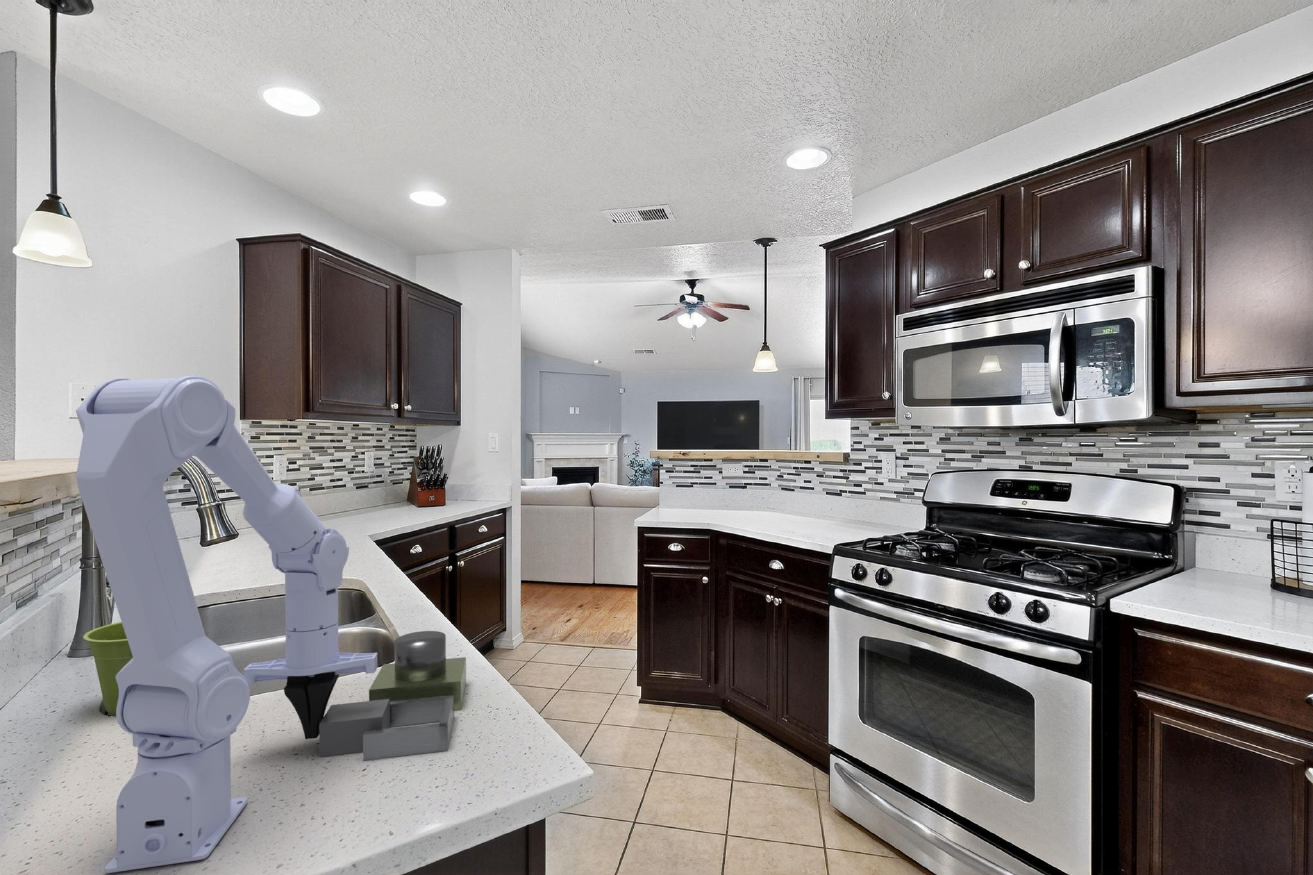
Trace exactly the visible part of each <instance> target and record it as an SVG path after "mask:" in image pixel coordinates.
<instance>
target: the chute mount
mask: <svg viewBox="0 0 1313 875" xmlns="http://www.w3.org/2000/svg"><path fill="white" fill-rule="evenodd" d="M446 637H447V636H446V634H445V633H444V632H442V631H439V630H438V631H437V630H424V631H422V630H421V631H414V632H410V633H405V634H403V635H401V636H398V637H396V639H395V640H394V662H393V663H384V664H382V667H381V668H380V670H379V672H378V673H377V675H376V677H375V679H374V680H373V682H372V684H371V685H370V687H369V689H368V701H374V700H384V699H390V729H382V730H373V731H365V732H364V734H363V752H362V760H363V762H364V761H370V760H378V759H380V760H381V759H388V758H395V757H403V756H411V755H421V754H422V755H423V754H428V753H437V752H446V751H448V749H449V745H450V739H451V734H452V730H453V725H454V720H455V711H460V710H462V707H463V702H464V696H465V691H466V687H467V686H466V685H467V657H463V656H462V657H454V658H447V649H446V648H447V642H446V639H447V638H446ZM465 686H466V687H465Z"/></svg>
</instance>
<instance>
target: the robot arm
mask: <svg viewBox="0 0 1313 875" xmlns="http://www.w3.org/2000/svg"><path fill="white" fill-rule="evenodd" d="M75 413H76V416H77V420H78V423H79V425H80V429H81V432H82V440H81V446H80V451H79V457H78V463H77V469H76V485H77V488H78V492H79V494H80V498H81V501H82V503H83V504H82V505H83V506H84V510H85V513H86V516H87V519H88V523H89V525H90V529H91V532H92V535H93V537H94V541H95V545H96V546H97V549H98V554H99V557H100V558H101V562H102V565H103V566H102V567H103V568H104V572H105V575H106V577H107V578H106V579H107V581H108V584H109V588H110V590H111V594H112V596H113V599H114V603H115V606H116V608H117V611H118V612H117V613H118V615H119V618H120V620H121V621H120V622H122V625H123V628H124V631H125V634H126V637H127V640H128V643H129V646H130V649H131V652H132V655H133V658H132V659H131V660H130V661H129V662H128V663H127V664H126V665H125V666H124V667H123V668H122V669H121V670H120V671H119V673H118V674H117V675H116V681H117V684H118V688H119V698H118V703H117V708H116V715H115V717H116V720H117V724H118V726H119V727H120V728H121V729H122V730H123V731H124V732H125V733H128V734H131V735H132V747H136V748H137V760H136V761H137V762H136V766H135V769H134V772H133V774H132V776H131V777H130V779H129V780H128V781H127V782H126V784H124V786H123V788H122V789H121V790H120V792H119V794H118V798H117V799H116V800H117V801H116V807H115V808H116V815H115V816H116V819H115V820H116V822H115V823H116V855H115V856H113V858H112V859H111V860H110V861H109V862H108V863H107V864H106V865H105V867H104V873H105V874H113V873H118V872H125V871H132V870H138V869H145V868H153V867H160V866H167V865H173V864H180V863H186V862H193V861H200V860H204V859H206V858H208V856H210V855H211V853H212V852H213V850H214V848H215V847H216V846H217V845H218V843H219V842H220V841H221V839H222V838H223V836H224V835H225V834H226V832H227V831H228V830H229V828H230V827H231V825H232V824H233V823H234V821H235V820H236V819H237V817H238V816H239V815H240V813H241V812H242V810H243V809H244V807H245V806H246V805H247V804H248V803H249V802H248V799H249V798H248V797H243V796H242V797H237V798H232V781H231V780H232V776H231V775H232V774H231V772H232V768H231V766H232V764H231V763H232V762H231V761H232V760H231V759H232V758H231V756H232V755H231V750H232V749H231V748H232V747H231V735H233V734H235V733H236V732H237V727H238V726H239V725H240V723H241V722H242V720H243V719H244V717H245V714H246V713H247V710H248V707H249V704H250V700H251V688H250V685H254V684H255V683H259V682H260V683H261V682H270V681H281V680H286V685H285V686H284V688H283V692H284V695H285V697H286V698H287V699H288V700H289V702H290V704H291V705H292V707H293V708H294V710H295V712H296V714H297V716H298V718H299V721H300V724H301V727H302V731H303V733H304V734H303V735H304V739H305V740H311V739H317V738H319V723H320V722H321V720H322V719H323V717H324V716H325V714H326V710H327V706H328V704H329V700H330V697H331V695H332V692H333V690H334V688H335V685H336V683H337V681H338V679H339V678H340V675H347V674H349V675H350V674H358V673H365V674H375V673H376V671H377V669H378V652H369V653H367V652H366V653H364V652H363V653H361V652H357V653H356V652H355V653H354V652H339V587H340V586H342V582H343V571H344V568H345V566H346V563H347V561H348V558H349V553H350V547H349V546H347V541H346V539H345V537H344V536H343V535H342V534H341V533H340V532H339V531H337V530H336V529H334V528H326V526H324V524H323V523H322V522H321V519H320V518H319V516H318V515H317V514H315V513H314V512H313V511H312V509H311V508H310V507H309V506H308V504H307V503H306V502H305V501H304V499H303V498H302V497H301V495H302V493H301V492H300V490H299V488H297V487H295V486H294V487H293V486H292V485H289V484H287V483H286V484H285V483H275V481H274V480H273V479H272V477H271V475H270V474H269V473H268V471H267V470H266V468H265V467H264V465H263V464H262V463H261V460H260V459H259V458H258V457H257V455H256V453H255V452H254V451H253V450H252V448H251V447H250V445H249V444H248V443H247V441H246V440H245V437H244V436H243V435H242V434H241V432H240V431H239V429H238V428H237V427H236V425H235V420H236V408H235V407H234V405H232V403H231V402H230V401H228V400H227V399H226V398H225V396H224V393H223V392H222V390H221V388H220V387H219V386H218V385H217V384H216V383H215V382H213V381H212V380H210V379H208V378H206V377H204V376H199V375H187V376H181V377H169V378H165V377H164V378H144V379H130V378H114V379H113V378H112V379H109V380H106V381H104V382H102V383H101V384H99V385H98V386H97V387H96V388H94V389H93V391H92V392H91V393H90V394H89V395H88V396H87V397H86V398H85V400H83V401H82V403H81V404H80V405H79V406H78V407H77V408H76V410H75ZM192 457H195V458H197V459H198V460H199V461H201V462H202V464H204V465H205V466H206V467H207V468H208V469H209V470H210V471H211V472H212V473H213V474H215V476H216V477H217V478H219V479H220V480H221V481H222V482H223V483H224V484H225V485H226V486H227V487H228V488H229V489H230V490H232V491H233V493H235V494H236V495H237V497H239V498H240V499H241V500H242V501H243V502H244V505H243V508H242V509H243V510H242V515H243V519H244V520H245V521H246V522H247V523H248V524H249V525H250V527H252V528H253V530H255V532H256V533H257V534H258V535H259V536H260V537H261V538H262V539H263V541H265V542H266V543H267V544H268V549H269V550H270V552H271V562H272V565H273V567H274V569H275V570H278V571H279V572H280V573H283V574H284V582H285V584H284V591H285V592H284V595H285V596H284V598H285V599H284V601H285V602H284V603H285V608H284V610H285V658H281V659H275V660H267V661H262V662H254V663H250V664H248V665H247V666H246V667H244V669H243V674H242V673H241V672H239V671H238V669H237V668H236V666H235V664H234V661H233V657H232V655H231V654H230V653H229V652H228V651H226V650H225V649H224V648H222V647H221V646H219V644H217V643H215V642H214V641H213V640H211V639H210V638H209V637H208V636H207V635H206V632H205V629H204V626H203V622H202V618H201V615H200V612H199V608H198V605H197V601H196V598H195V595H194V591H193V588H192V585H191V581H190V577H189V574H188V573H189V572H188V570H187V565H186V562H185V560H184V555H183V552H182V549H181V545H180V542H179V541H180V540H179V538H178V535H177V532H176V527H175V525H174V524H175V523H174V521H173V518H172V514H171V510H170V507H169V503H168V500H167V497H166V493H165V490H164V484H165V483H166V481H167V480H168V479H169V477H170V476H171V474H173V473H174V471H175V470H178V468H180V467H181V466H183V464H185V463H186V462H187V461H188V460H190V459H191V458H192Z"/></svg>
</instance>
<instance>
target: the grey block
mask: <svg viewBox="0 0 1313 875" xmlns="http://www.w3.org/2000/svg"><path fill="white" fill-rule="evenodd" d="M382 729H391V727H390V699H384V700H374V701H369V700H367V701H359V702H357V701H356V702H347V703H339V704H338V703H337V704H331V705H330V706H329V707H328V709H327V711H326V712H325V714H324V717H323V719H322V720H321V722H320V723H319V736H318V738H319V739H318V740H319V741H318V742H319V745H318V746H319V758H323V757H332V756H340V755H348V754H356V753H363V734H364V732H365V731H373V730H382Z"/></svg>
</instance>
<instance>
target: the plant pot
mask: <svg viewBox="0 0 1313 875" xmlns="http://www.w3.org/2000/svg"><path fill="white" fill-rule="evenodd" d="M82 638H83V640H84V641H85V642H87V643H88V645H89V650H90V653H91V656H93V659H94V662H95V669H96V673H97V677H98V681H99V686H100V691H101V696H102V701H103V706H104V708H105V711H106V712H107V713H109V714H116V708H117V703H118V698H119V688H118V684H117V681H116V675H117V674H118V673H119V671H120V670H121V669H122V668H123V667H124V666H125V665H126V664H127V663H128V662H129V661H130V660H131V659H132V658H133V655H132V652H131V649H130V646H129V643H128V640H127V637H126V634H125V631H124V628H123V625H122V621H118V622H113V623H110V624H107V625H103V626H100V627H95V628H94V629H91V630H89V631H88V632H86V633H85V634H84V635H83V636H82Z"/></svg>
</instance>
